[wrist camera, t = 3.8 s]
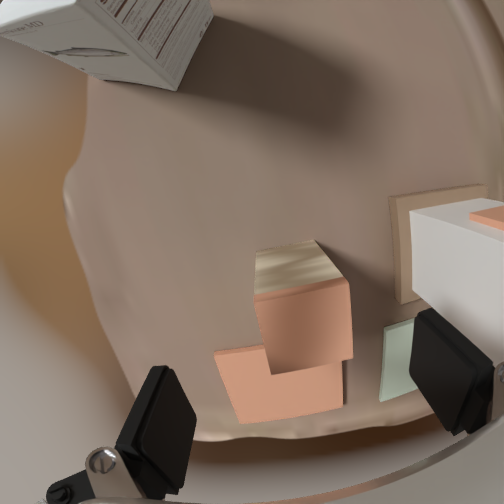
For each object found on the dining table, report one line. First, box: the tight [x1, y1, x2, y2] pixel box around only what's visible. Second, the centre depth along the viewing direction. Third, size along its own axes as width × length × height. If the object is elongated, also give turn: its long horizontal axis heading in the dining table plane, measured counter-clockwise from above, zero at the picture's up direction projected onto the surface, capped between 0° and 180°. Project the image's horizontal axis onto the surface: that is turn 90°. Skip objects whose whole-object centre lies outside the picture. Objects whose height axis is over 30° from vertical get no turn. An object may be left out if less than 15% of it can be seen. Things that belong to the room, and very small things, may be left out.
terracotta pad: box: [214, 344, 343, 424], centre depth 22 cm, size 10×9×1 cm
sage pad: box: [379, 311, 450, 402], centre depth 21 cm, size 10×9×1 cm
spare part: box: [254, 240, 353, 375], centre depth 15 cm, size 4×4×8 cm
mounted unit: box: [388, 184, 504, 367], centre depth 12 cm, size 10×8×12 cm
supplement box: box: [0, 0, 214, 91], centre depth 9 cm, size 7×7×13 cm
